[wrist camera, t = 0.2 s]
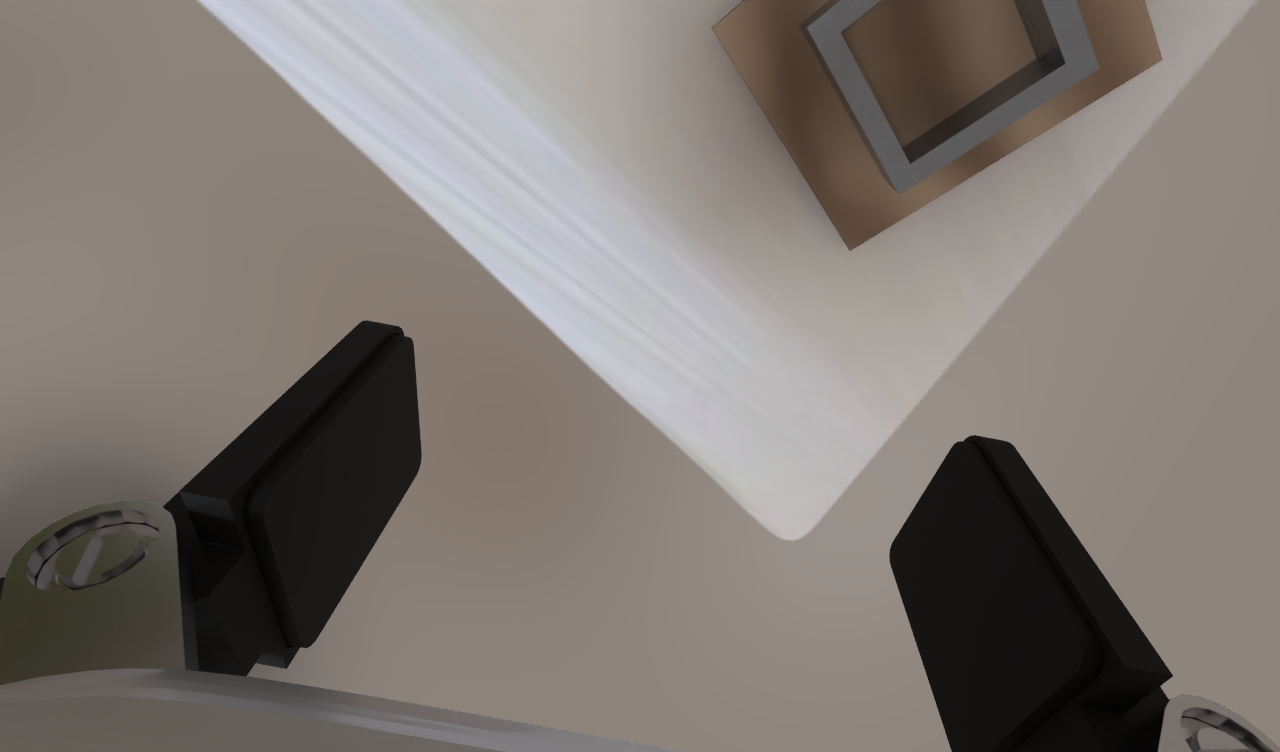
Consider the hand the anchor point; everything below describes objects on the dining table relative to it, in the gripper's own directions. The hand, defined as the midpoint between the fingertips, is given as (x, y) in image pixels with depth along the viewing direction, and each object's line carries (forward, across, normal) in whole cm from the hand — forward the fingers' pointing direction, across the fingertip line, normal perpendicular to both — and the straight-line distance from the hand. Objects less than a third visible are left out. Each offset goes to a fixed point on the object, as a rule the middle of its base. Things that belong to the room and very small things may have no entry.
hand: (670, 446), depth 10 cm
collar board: (+31, -12, -6) cm, 34 cm away
